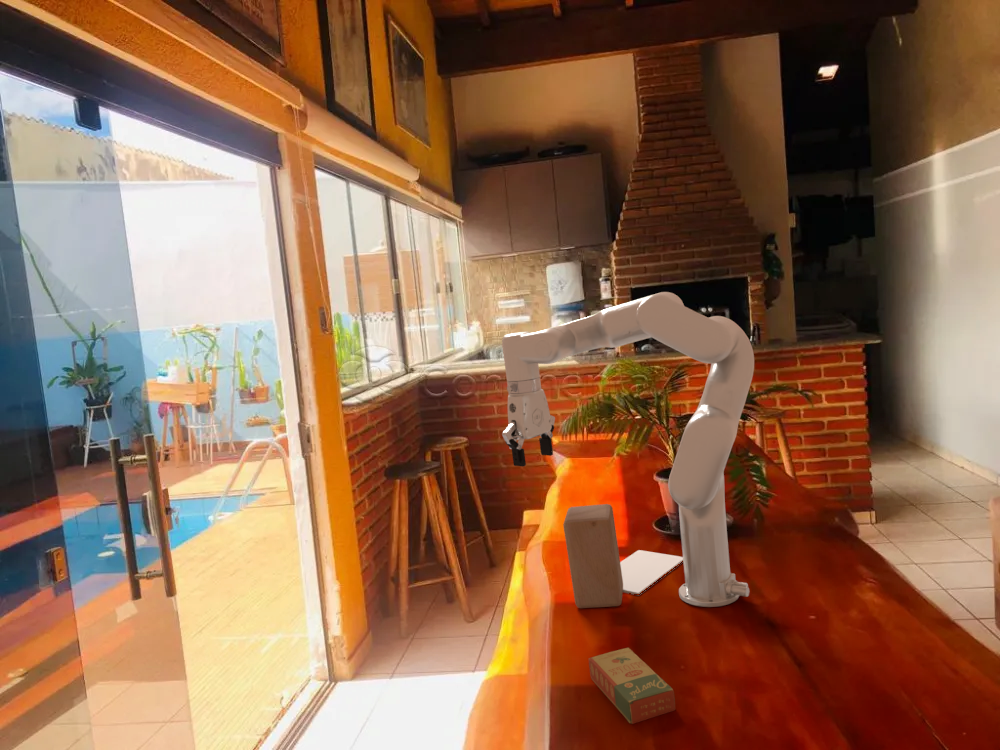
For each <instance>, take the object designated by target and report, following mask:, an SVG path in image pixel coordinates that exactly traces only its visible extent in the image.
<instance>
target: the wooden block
mask: <svg viewBox="0 0 1000 750" xmlns="http://www.w3.org/2000/svg"><path fill="white" fill-rule="evenodd" d="M615 523H616V522H615V516H614V509H613V506H612V505H611V504H608V503H606V504H605V503H604V504H591V505H590V504H589V505H584V506H583V505H580V506H571V507H569V508H568V509H567V511H566V515H565V518H564V521H563V524H562V525H563V532H564V538H565V545H566V551H567V556H568V557H567V558H568V563H569V572H570V576H571V584H572V589H573V590H572V591H573V596H574V603H575V605H576V607H577V608H579V609H588V608H605V607H606V608H608V607H619V606H620V605H622V602H623V593H624V592H623V579H622V572H621V565H620V562H621V560H620V559H621V558H620V554H619V553H620V552H619V551H620V550H619V544H618V538H617V532H616V531H617V530H616V525H615Z"/></svg>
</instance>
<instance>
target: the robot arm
mask: <svg viewBox="0 0 1000 750" xmlns="http://www.w3.org/2000/svg"><path fill="white" fill-rule="evenodd" d="M651 338H652V339H654V340H656V341H657V342H660V343H662V344H663V345H665V346H667V347H670V348H671V349H673V350H675V351H677V352H679V353H681V354H683V355H685V356H687V357H689V358H691V359H693V360H695V361H698V362H700V363H703V364H710V369H709V373H708V374H707V375H708V376H707V378H706V381H705V385H704V389H703V392H702V396H701V398H700V401H699V403H698V406H697V408H696V409H695V412H694V413H693V415H692V416H691V417H690V419H689V421H688V422H687V424H686V425H685V428H684V431H683V434H682V436H681V440H680V442H679V446H678V449H677V451H676V455H675V458H674V461H673V463H672V464H673V465H672V466H671V467H672V468H671V471H670V474H669V476H668V477H669V478H668V482H667V483H668V484H667V485H668V491H669V494H670V496H671V499H672V500H673V501H674V502H675V503H676V504H677V505H678V513H679V514H678V515H679V516H678V517H679V526H680V527H679V529H680V539H681V550H682V557H683V562H682V563H683V573H684V582H685V583H683V584H682V585H681V586H680V587H679V588H678V595H679V598H680V599H681V601H683V602H685V603H686V604H689V605H691V606H695V607H704V608H713V607H714V608H715V607H723V606H726V605H731V604H733V603H734V602H736V601H737V600H738V599H739V597H746V598H747V597H749V596H750V588H749V584H748V583H747V582H742V581H738V580H736V574H735V573H732V572H731V567H730V566H731V565H730V553H729V551H730V550H729V542H728V531H727V530H728V528H727V515H726V502H725V501H726V500H725V496H726V495H725V475H724V474H725V473H724V471H725V468H726V466H727V462H728V460H729V457H730V454H731V451H732V448H733V445H734V443H735V441H736V438H737V435H738V434H737V433H738V427H739V423H740V420H741V417H742V414H743V410H744V407H745V404H746V401H747V397H748V394H749V390H750V387H751V383H752V381H753V376H754V370H755V355H754V354H755V353H754V350H753V346H752V344H751V340H750V339H749V337H748V336H747V334H746V333H745V331H744V330H743V329H742V327H741V326H739V324H737V323H736V322H735V321H733V320H732V319H730V318H728V317H726V316H721V315H713V316H710V317H707V316H705V315H703V314H701V313H700V312H697V311H695V310H693V309H691V308H689V307H687V306H685V305H684V303H683V300H682V299H681V298H680V297H679V296H678V295H676V294H675V293H673V292H669V291H661V292H658V293H655V294H650V295H647V296H644V297H640V298H637V299H634V300H631V301H628V302H624V303H621V304H617V305H613V306H610V307H607V308H604V309H602V310H599V311H598V312H596V313H595V314H592V315H589V316H587V317H583V318H580V319H575V320H572V321H570V322H566V323H562V324H559V325H556V326H551V327H548V328H546V329H543V330H542V329H541V330H539V331H535V332H531V331H519V332H512V333H508V334H505V335H503V337H502V339H501V343H502V344H501V345H502V353H503V360H504V368H505V369H504V370H505V377H506V384H507V387H506V391H507V393H508V396H507V421H508V425H507V426H506V427H505V429H504V430H503V431H502V433H501V435H502V437H503V440H504V442H505V444H506V445H507V446H508V447H509V449H510V450H511V454H512V461H513V462H512V463H513V466H515V467H523V468H524V467H525V466H526V465H527V463H526V454H525V449H524V448H522V447H523V445H524V442H525V440H529V439H530V440H531V439H533V438H535V437H539V436H540V437H539V440H538V441H539V447H540V448H539V449H540V455H542V456H553V455H554V451H553V444H552V443H553V442H552V438H553V435H554V434H553V432H554V430H555V421H556V417H555V416H553V415H551V414H550V408H549V403H548V400H547V396H546V393H545V390H544V389H542V385H541V384H542V383H541V376H540V367H539V364H541V365H549V364H554V363H557V362H560V360H563V359H566V358H569V357H572V356H575V355H578V354H582V353H585V352H588V351H592V350H598V349H602V348H609V349H610V348H611V349H612V348H613V349H614V348H618V347H622V346H625V345H626V346H627V345H629V344H633V343H635V342H639V341H643V340H646V339H651Z"/></svg>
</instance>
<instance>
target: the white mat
mask: <svg viewBox="0 0 1000 750" xmlns="http://www.w3.org/2000/svg"><path fill="white" fill-rule="evenodd" d="M682 561H683V556H679V555H673V554H666V553H660V552H653V551H647V550H642V549H641V550H640V549H638V550H636V551H635V552H633V553H632V554H631V555H628V556H627V557H625V559H623V560H620V565H621V572H622V579H623V593H625V594H629V593H631V594H630V595H634V594H640V593H641V592H642V591H644V590H645V589H646V588H648V587H649V586H650V585H652V584H653V583H654V582H656V581H657V580H658V579H659V578H661V577H662V576H663V575H664V574H666V573H667V572H669V571H670V570H671V569H673V568H674V567H675V566H677V565H678V564H680V563H681V562H682ZM682 563H683V562H682ZM682 563H681V564H682ZM681 564H680V565H681ZM678 566H679V565H678ZM678 566H677V567H678ZM674 569H675V568H674ZM674 569H673V570H674ZM670 572H671V571H670ZM670 572H669V573H670ZM661 579H662V578H661ZM657 582H658V581H657ZM657 582H656V583H657ZM653 585H654V584H653ZM653 585H652V586H653ZM649 588H650V587H649ZM649 588H648V589H649ZM645 591H646V590H645ZM645 591H644V592H645ZM641 594H642V593H641ZM641 594H640V595H641Z"/></svg>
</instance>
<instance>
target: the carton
mask: <svg viewBox="0 0 1000 750" xmlns="http://www.w3.org/2000/svg"><path fill="white" fill-rule="evenodd" d="M588 669H589V673H590V674H589V675H590V678H591V681H593V682H594V684H595V685H596V686H597V688H599V690H600V691H601V692H602V693H603V694H604V696H606V697H607V699H608V700H609V701H610V702H611V703H612V704H613V705H614V706H615V708H616V709H617V710H618V711H619V712H620V714H622V716H623V717H624V718H625V720H626V721H627V722H628V723H629V724H631V725H634V724H637V723H639V722H643V721H646V720H649V719H652V718H655V717H659V716H661V715H664V714H667V713H670V712H674V711H676V699H675V691H674V689H673V688H672V686H670V685H669V684H668V683H667V682H666V681H665V680H664V679H663V678H662V677H660V676H659V675H658V674H657V673H656V672H655V671H654V670H653V669H652V668H651V667H650V666H649V665H648V664H647V663H646V662H645V661H643V660H642V658H640V657H639V656H638V655H637V654H636V653H635V652H634V651H633V650H632V649H631V648H630V647H625V648H621V649H618V650H611V651H609V652H605V653H603V654H598V655H595V656H592V657H589V658H588Z"/></svg>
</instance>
